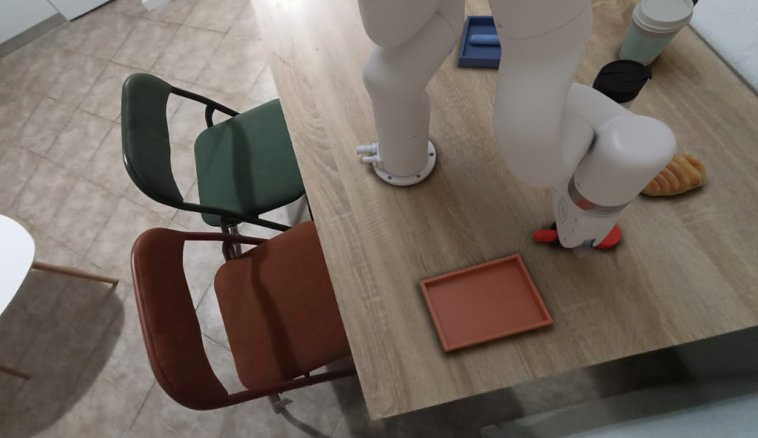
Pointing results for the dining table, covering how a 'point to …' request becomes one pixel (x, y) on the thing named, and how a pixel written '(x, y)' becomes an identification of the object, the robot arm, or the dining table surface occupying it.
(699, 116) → the dining table surface
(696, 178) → the pastry
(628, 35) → the coffee cup
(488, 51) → the back tray
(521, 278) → the front tray
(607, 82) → the travel mug
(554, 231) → the red spoon
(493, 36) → the blue spoon
